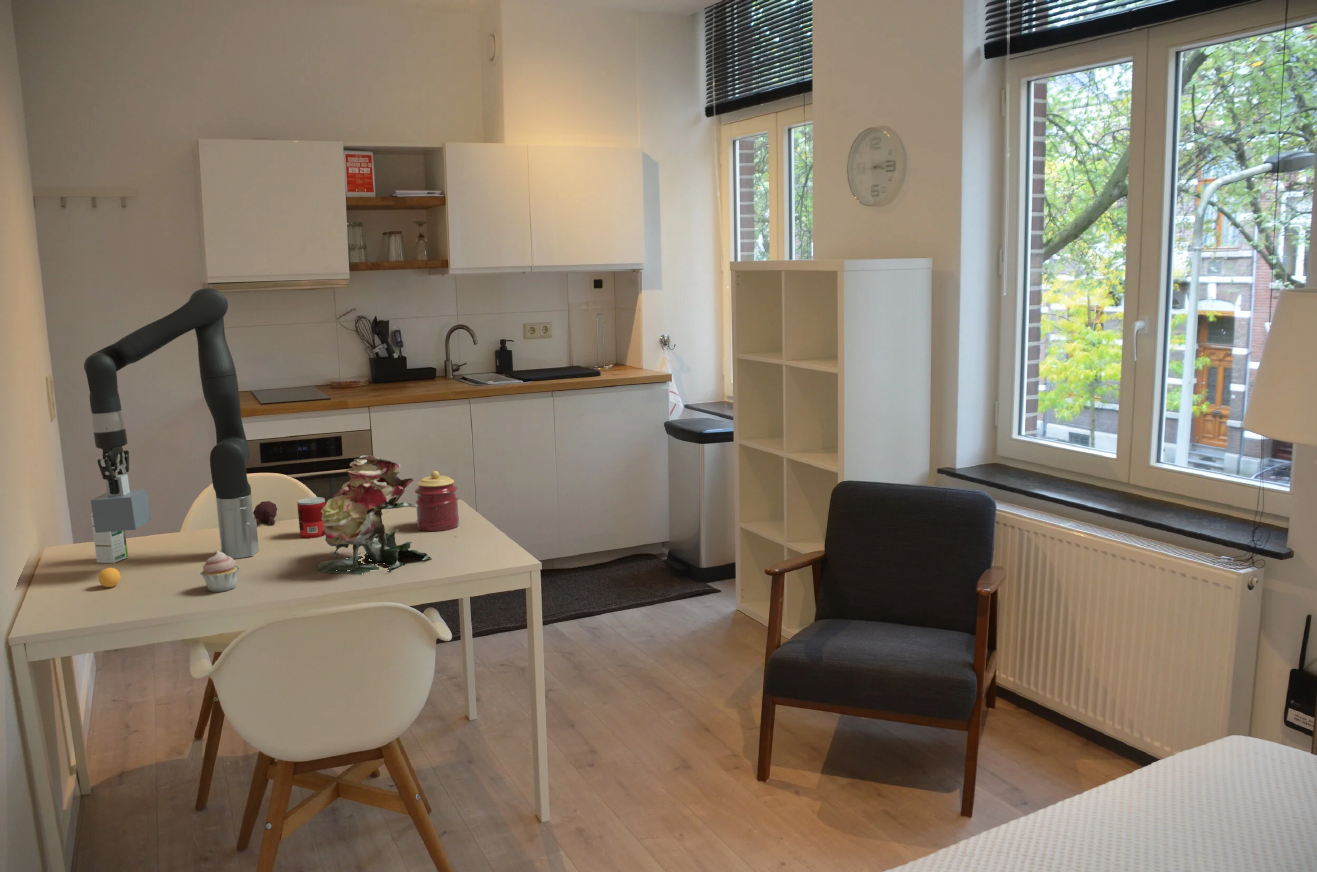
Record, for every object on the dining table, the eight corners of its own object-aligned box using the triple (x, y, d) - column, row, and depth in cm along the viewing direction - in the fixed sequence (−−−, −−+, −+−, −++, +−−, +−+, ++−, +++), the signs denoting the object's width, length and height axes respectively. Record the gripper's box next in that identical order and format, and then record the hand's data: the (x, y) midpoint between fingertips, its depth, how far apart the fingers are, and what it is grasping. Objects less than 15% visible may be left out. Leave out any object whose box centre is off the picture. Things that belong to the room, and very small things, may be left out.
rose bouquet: (360, 546, 293) (352, 445, 288) (440, 556, 281) (434, 450, 276) (293, 570, 271) (283, 461, 266) (378, 583, 258) (369, 468, 253)
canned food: (332, 533, 309) (330, 498, 307) (311, 539, 302) (308, 503, 300) (316, 530, 313) (313, 495, 311) (294, 536, 306) (291, 501, 304)
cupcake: (214, 582, 262) (210, 545, 260) (248, 583, 261) (244, 545, 259) (194, 594, 253) (190, 555, 251) (229, 594, 252) (225, 555, 250)
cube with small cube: (151, 520, 276) (143, 470, 274) (135, 529, 266) (128, 478, 264) (112, 522, 276) (104, 473, 273) (95, 532, 266) (87, 481, 263)
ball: (124, 583, 263) (122, 564, 262) (116, 589, 258) (114, 570, 257) (105, 584, 263) (102, 565, 262) (96, 590, 258) (93, 571, 257)
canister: (426, 521, 321) (422, 466, 318) (465, 521, 320) (462, 466, 317) (410, 531, 309) (406, 475, 306) (451, 532, 307) (448, 475, 304)
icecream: (245, 500, 329) (255, 512, 317) (268, 491, 332) (278, 503, 320) (253, 518, 331) (262, 532, 319) (275, 510, 335) (285, 523, 323)
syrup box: (114, 563, 282) (108, 513, 279) (96, 562, 283) (89, 512, 281) (128, 557, 287) (123, 508, 285) (110, 557, 289) (104, 507, 286)
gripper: (112, 432, 260) (122, 496, 263) (135, 423, 274) (144, 485, 277) (81, 434, 259) (92, 499, 262) (106, 425, 273) (116, 487, 276)
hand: (118, 491), depth 269 cm, fingers closed on cube with small cube, 4 cm apart
